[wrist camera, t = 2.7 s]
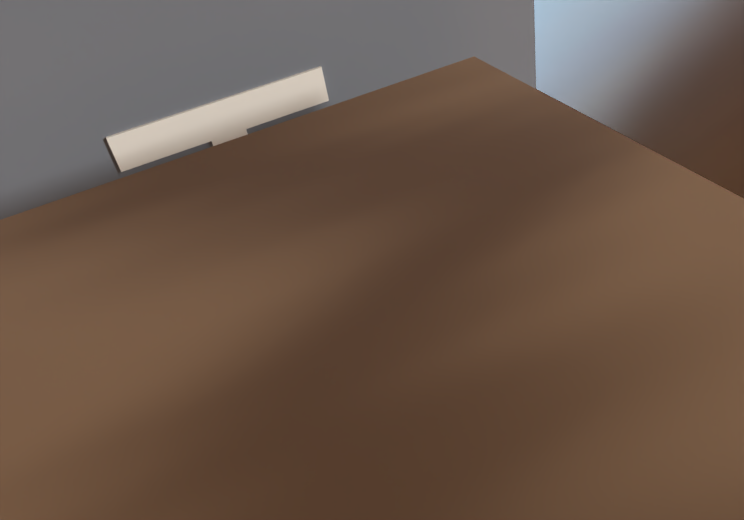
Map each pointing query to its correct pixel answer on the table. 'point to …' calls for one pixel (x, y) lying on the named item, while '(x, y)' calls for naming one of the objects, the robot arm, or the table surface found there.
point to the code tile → (210, 74)
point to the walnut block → (382, 324)
